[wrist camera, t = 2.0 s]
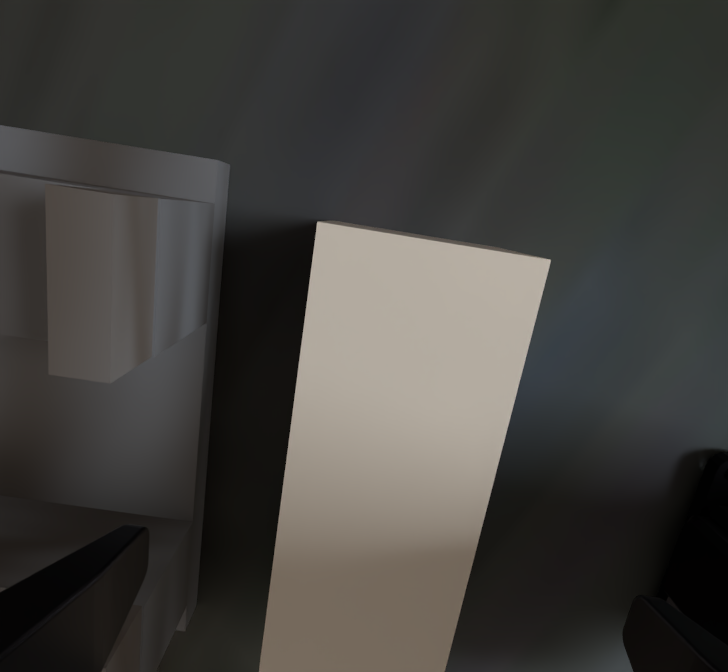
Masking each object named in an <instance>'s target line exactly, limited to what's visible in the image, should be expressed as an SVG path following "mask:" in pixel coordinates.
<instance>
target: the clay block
mask: <svg viewBox="0 0 728 672" xmlns="http://www.w3.org/2000/svg"><path fill="white" fill-rule="evenodd" d="M550 262H551V260H549V259H545V258H541V257H536V256H532V255H528V254H523V253H519V252H514V251H510V250H506V249H501V248H497V247H491V246H485V245H479V244H473V243H466V242H460V241H454V240H448V239H442V238H436V237H430V236H424V235H418V234H412V233H405V232H399V231H393V230H387V229H381V228H375V227H369V226H363V225H357V224H351V223H344V222H338V221H332V220H331V221H319V222H317V228H316V236H315V244H314V251H313V259H312V267H311V274H310V282H309V290H308V297H307V305H306V313H305V321H304V328H303V336H302V344H301V351H300V359H299V367H298V374H297V382H296V390H295V397H294V405H293V413H292V420H291V428H290V436H289V444H288V451H287V459H286V467H285V474H284V482H283V490H282V497H281V505H280V513H279V520H278V528H277V536H276V544H275V551H274V559H273V567H272V574H271V582H270V590H269V597H268V605H267V613H266V620H265V628H264V636H263V644H262V651H261V659H260V667H259V672H445V669H446V665H447V661H448V657H449V653H450V649H451V645H452V641H453V638H454V634H455V630H456V626H457V622H458V618H459V614H460V611H461V607H462V603H463V599H464V595H465V591H466V587H467V583H468V580H469V576H470V572H471V568H472V564H473V560H474V556H475V552H476V549H477V545H478V541H479V537H480V533H481V529H482V525H483V521H484V518H485V514H486V510H487V506H488V502H489V498H490V494H491V490H492V487H493V483H494V479H495V475H496V471H497V467H498V463H499V460H500V456H501V452H502V448H503V444H504V440H505V436H506V432H507V429H508V425H509V421H510V417H511V413H512V409H513V405H514V401H515V398H516V394H517V390H518V386H519V382H520V378H521V374H522V370H523V367H524V363H525V359H526V355H527V351H528V347H529V343H530V339H531V336H532V332H533V328H534V324H535V320H536V316H537V312H538V309H539V305H540V301H541V297H542V293H543V289H544V285H545V281H546V278H547V274H548V270H549V266H550Z"/></svg>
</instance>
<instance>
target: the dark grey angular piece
mask: <svg viewBox="0 0 728 672" xmlns="http://www.w3.org/2000/svg"><path fill="white" fill-rule="evenodd" d="M229 173H230V165H229V164H227V163H224V162H221V161H219V160H213V159H207V158H201V157H195V156H189V155H182V154H176V153H170V152H164V151H157V150H151V149H145V148H139V147H133V146H126V145H120V144H114V143H108V142H101V141H95V140H89V139H83V138H77V137H70V136H64V135H58V134H52V133H46V132H39V131H33V130H27V129H21V128H14V127H8V126H2V125H0V592H1V591H3V590H5V589H7V588H8V587H10V586H12V585H14V584H16V583H18V582H19V581H21V580H23V579H25V578H27V577H28V576H30V575H32V574H34V573H36V572H38V571H39V570H41V569H43V568H45V567H47V566H49V565H50V564H52V563H54V562H56V561H58V560H60V559H61V558H63V557H65V556H67V555H69V554H70V553H72V552H74V551H76V550H78V549H80V548H81V547H83V546H85V545H87V544H89V543H91V542H92V541H94V540H96V539H98V538H100V537H102V536H103V535H105V534H107V533H109V532H111V531H112V530H114V529H116V528H118V527H120V526H122V525H124V524H133V525H140V526H146V527H147V528H148V529H149V534H150V536H149V560H148V569H147V573H146V576H145V579H144V581H143V583H142V586H141V588H140V590H139V592H138V594H137V596H136V599H135V601H134V603H133V605H132V607H131V609H130V612H129V614H128V616H127V618H126V620H125V622H124V625H123V627H122V629H121V631H120V633H119V635H118V638H117V640H116V642H115V644H114V646H113V648H112V651H111V653H110V655H109V657H108V659H107V661H106V663H105V665H104V667H103V669H102V671H101V672H156V671H157V669H158V666H159V664H160V662H161V660H162V658H163V656H164V654H165V651H166V649H167V647H168V645H169V643H170V641H171V639H172V636H173V634H174V632H175V630H177V631H184V632H185V631H186V628H187V626H188V624H189V622H190V619H191V617H192V615H193V612H194V610H195V608H196V606H197V594H198V581H199V567H200V554H201V541H202V528H203V515H204V502H205V488H206V475H207V462H208V449H209V436H210V423H211V409H212V396H213V383H214V370H215V357H216V344H217V330H218V317H219V304H220V291H221V278H222V265H223V252H224V238H225V225H226V212H227V199H228V186H229Z"/></svg>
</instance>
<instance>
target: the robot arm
mask: <svg viewBox="0 0 728 672" xmlns="http://www.w3.org/2000/svg"><path fill="white" fill-rule="evenodd" d="M727 469H728V452H721V453H718V454H716V455H714V456H713V457H712V458H711V459H710V460H709V461H708V463H707V465H706V468H705V470H704V473H703V475H702V478H701V481H700V483H699V486H698V489H697V491H696V494H695V497H694V499H693V502H692V504H691V507H690V510H689V512H688V515H687V518H686V520H685V523H684V526H683V528H682V531H681V534H680V536H679V539H678V541H677V544H676V547H675V549H674V552H673V555H672V557H671V560H670V563H669V565H668V568H667V570H666V573H665V576H664V578H663V581H662V584H661V586H660V589H659V592H658V594H657V597H651V596H644V595H640V596H637V597H636V598H635V599H634V601H633V603H632V606H631V608H630V611H629V614H628V617H627V620H626V622H625V625H624V628H623V643H624V646H625V649H626V652H627V655H628V658H629V660H630V663H631V666H632V669H633V671H634V672H728V472H727V473H726V474H724V473H725V472H726V470H727ZM149 536H150V534H149V529H148V528H147V527H146V526H140V525H133V524H124V525H122V526H120V527H118V528H116V529H114V530H112V531H111V532H109V533H107V534H105V535H103V536H102V537H100V538H98V539H96V540H94V541H92V542H91V543H89V544H87V545H85V546H83V547H81V548H80V549H78V550H76V551H74V552H72V553H70V554H69V555H67V556H65V557H63V558H61V559H60V560H58V561H56V562H54V563H52V564H50V565H49V566H47V567H45V568H43V569H41V570H39V571H38V572H36V573H34V574H32V575H30V576H28V577H27V578H25V579H23V580H21V581H19V582H18V583H16V584H14V585H12V586H10V587H8V588H7V589H5V590H3V591H1V592H0V672H101V671H102V669H103V667H104V665H105V663H106V661H107V659H108V657H109V655H110V653H111V651H112V648H113V646H114V644H115V642H116V640H117V638H118V635H119V633H120V631H121V629H122V627H123V625H124V622H125V620H126V618H127V616H128V614H129V612H130V609H131V607H132V605H133V603H134V601H135V599H136V596H137V594H138V592H139V590H140V588H141V586H142V583H143V581H144V579H145V576H146V573H147V569H148V560H149Z"/></svg>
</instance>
